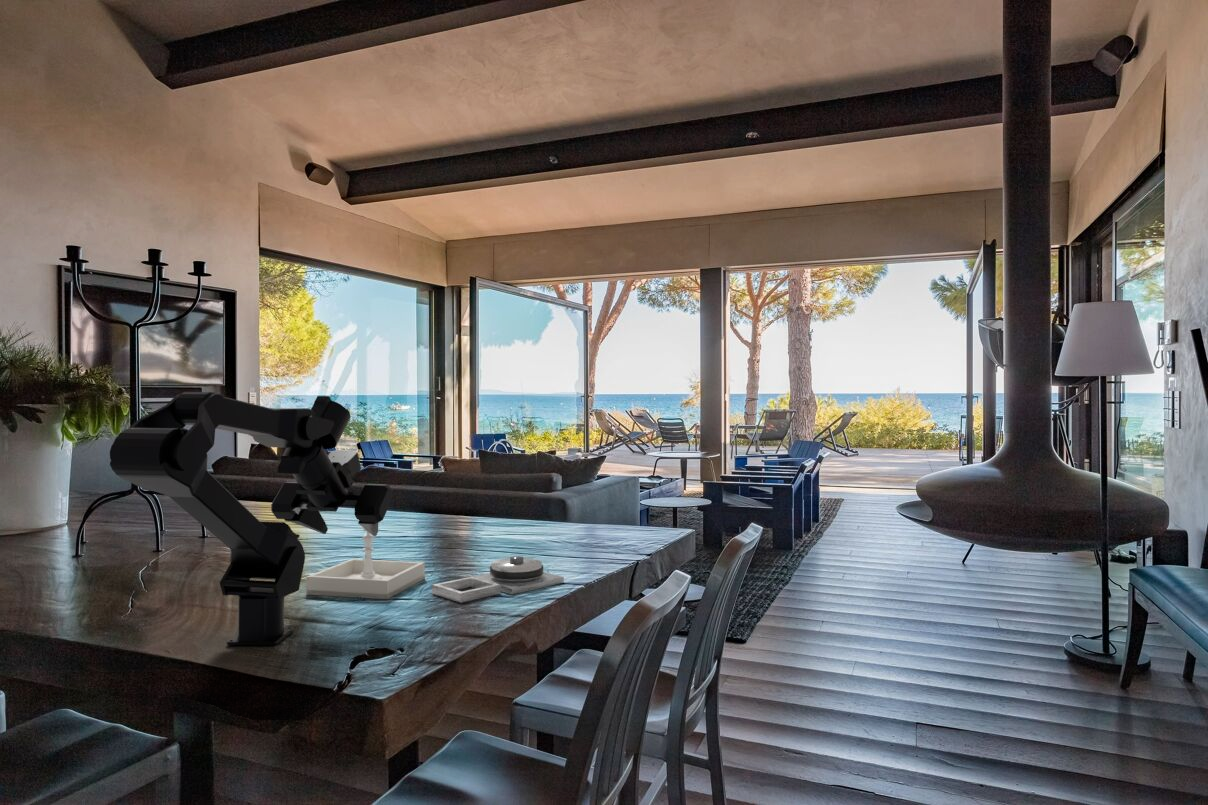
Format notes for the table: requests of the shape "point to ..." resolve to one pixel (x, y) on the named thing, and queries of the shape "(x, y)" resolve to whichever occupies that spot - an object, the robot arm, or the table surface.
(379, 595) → the tray
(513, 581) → the bracket
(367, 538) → the chess piece
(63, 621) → the table surface
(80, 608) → the table surface
